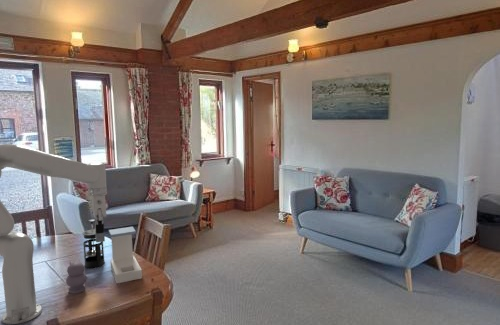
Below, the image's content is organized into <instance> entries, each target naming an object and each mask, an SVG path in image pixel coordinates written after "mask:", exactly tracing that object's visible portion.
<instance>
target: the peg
mask: <svg viewBox="0 0 500 325" xmlns="http://www.w3.org/2000/svg"><path fill="white" fill-rule="evenodd" d="M97 217H98V216H97ZM104 218H105V217H104V216H103V224H104V225H105V222H104V221H105V220H104ZM94 219H95V221H94V229H95V235H96V238H95V239H96V241H95V242H96V243H100V242H103V243H104V242H105V241H106V240H105V238H106V237H105V232H104V233H99V234H97V233H96V218H95V217H94Z"/></svg>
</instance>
